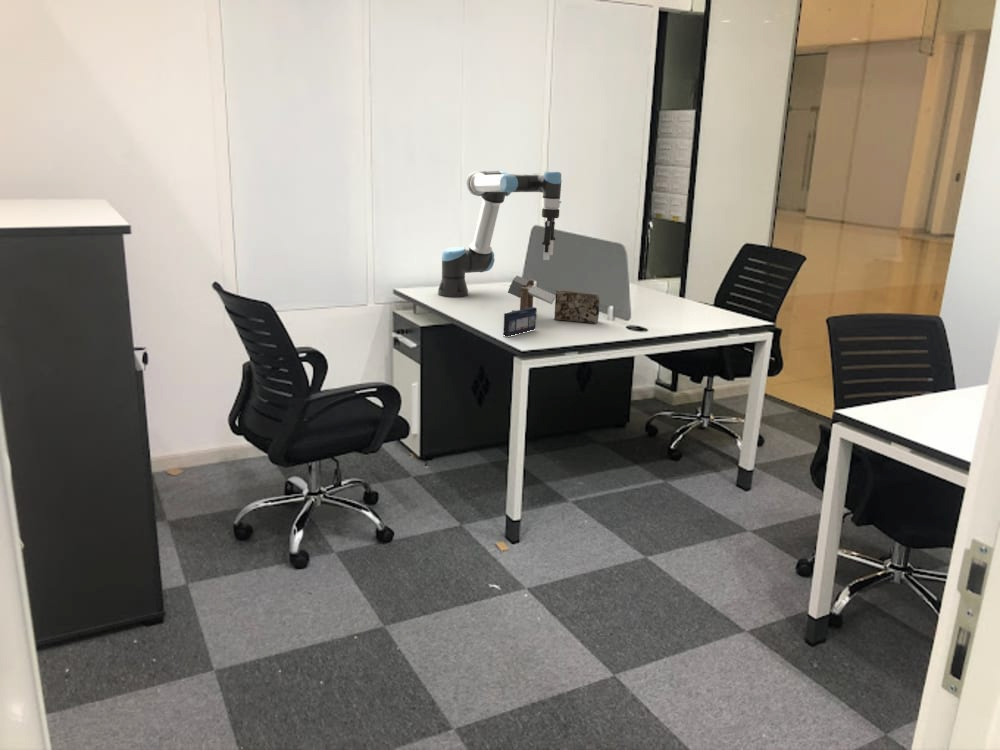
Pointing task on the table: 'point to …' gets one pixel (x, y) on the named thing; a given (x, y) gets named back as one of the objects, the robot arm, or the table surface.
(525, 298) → the trapdoor stand
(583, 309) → the stone block
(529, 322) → the vhs cassette tape
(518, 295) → the trapdoor plate
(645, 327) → the table surface
